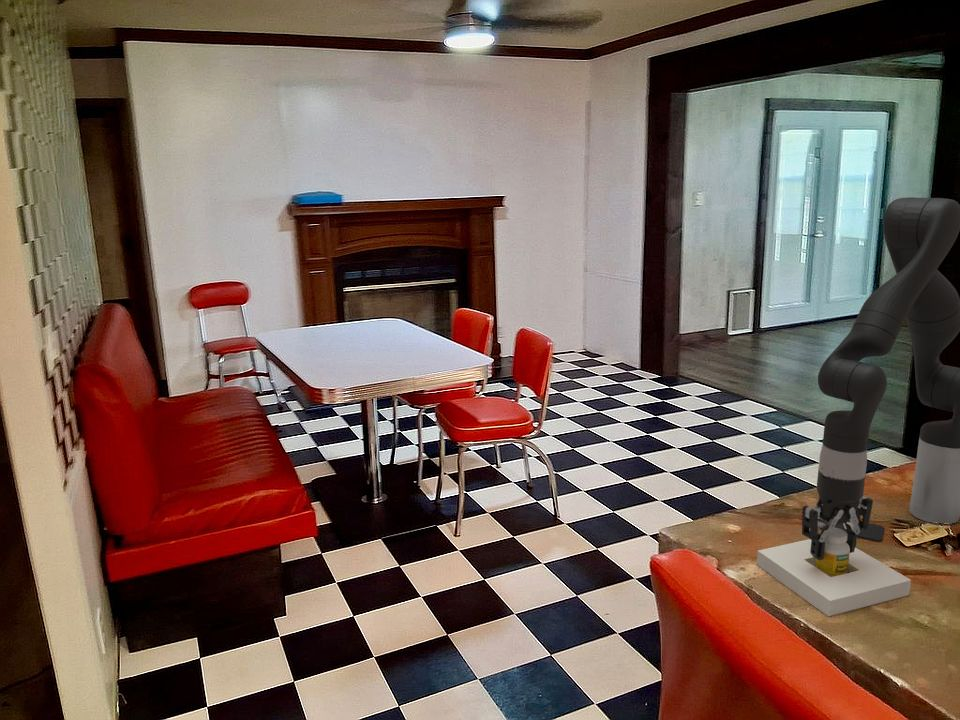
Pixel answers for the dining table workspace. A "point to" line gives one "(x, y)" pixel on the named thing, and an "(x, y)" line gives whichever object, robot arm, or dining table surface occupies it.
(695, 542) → the dining table surface
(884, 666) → the dining table surface
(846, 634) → the dining table surface
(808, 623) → the dining table surface
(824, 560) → the supplement bottle
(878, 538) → the phone
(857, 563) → the socket block
